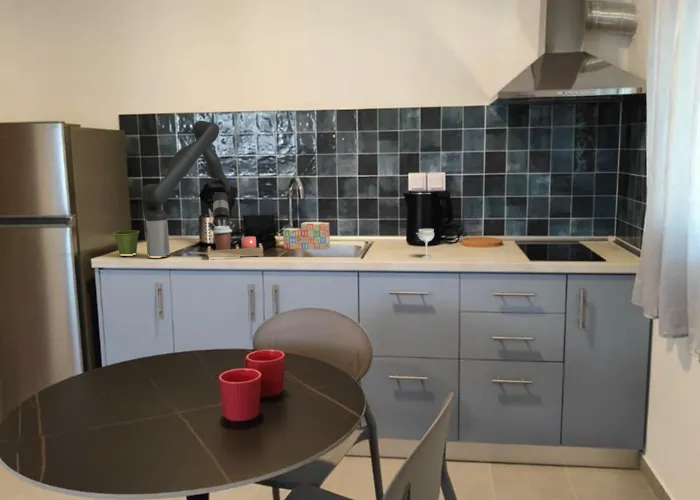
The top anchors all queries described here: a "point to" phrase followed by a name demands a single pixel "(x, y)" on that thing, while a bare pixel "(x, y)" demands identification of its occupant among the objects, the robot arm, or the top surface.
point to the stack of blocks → (307, 236)
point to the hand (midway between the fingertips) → (222, 239)
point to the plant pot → (127, 241)
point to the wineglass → (426, 238)
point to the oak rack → (236, 252)
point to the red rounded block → (248, 242)
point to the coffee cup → (222, 237)
